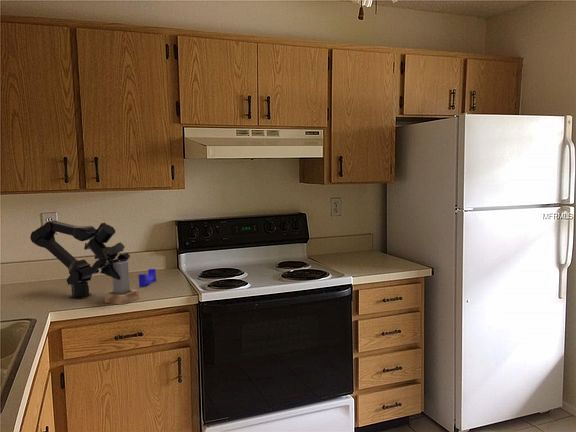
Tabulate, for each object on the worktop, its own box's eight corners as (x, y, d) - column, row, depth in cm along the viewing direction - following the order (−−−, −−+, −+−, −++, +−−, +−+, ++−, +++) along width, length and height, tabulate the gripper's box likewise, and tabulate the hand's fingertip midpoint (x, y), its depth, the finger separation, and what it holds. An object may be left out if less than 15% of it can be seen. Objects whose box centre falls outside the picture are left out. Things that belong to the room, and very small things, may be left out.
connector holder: (105, 302, 197) (104, 294, 196) (120, 296, 206) (119, 288, 205) (124, 304, 194) (123, 296, 193) (138, 298, 202) (138, 290, 202)
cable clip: (147, 280, 233) (146, 268, 232) (156, 280, 232) (155, 268, 232) (136, 287, 221) (135, 274, 221) (145, 287, 221) (144, 274, 220)
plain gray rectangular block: (113, 293, 198) (111, 263, 196) (120, 291, 202) (119, 261, 201) (122, 294, 196) (120, 263, 195) (129, 291, 201) (127, 261, 199)
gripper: (94, 241, 189) (119, 270, 187) (125, 234, 207) (148, 260, 204) (80, 259, 193) (103, 288, 190) (111, 251, 210) (133, 277, 208)
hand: (123, 277), depth 198 cm, fingers closed on plain gray rectangular block, 4 cm apart
